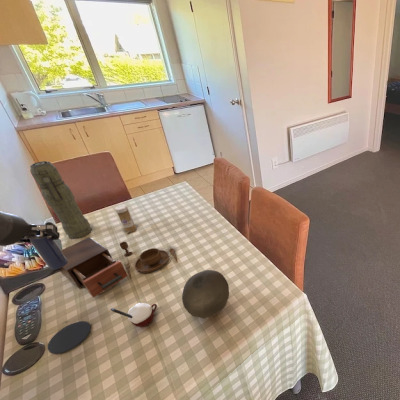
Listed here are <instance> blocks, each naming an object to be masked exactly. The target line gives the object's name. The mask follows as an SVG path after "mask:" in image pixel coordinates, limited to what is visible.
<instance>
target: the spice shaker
mask: <svg viewBox="0 0 400 400" xmlns="http://www.w3.org/2000/svg"><path fill="white" fill-rule="evenodd" d="M38 225H39V226H44V224H38ZM43 234H44V235H45V233H44V231H43ZM29 241H30V242H31V243H30V244H31V245H32V246H33V248H34V249H35V250H36V252H37V254H38V255H39V256H40V257H41V259H42V260H43V261H44V263H45V264H46V266H47V267H48V268H49V269H50V270H54V271H55V270H59V268H61V267H63V266H65V265H66V264H67V263H68V260H67V258H66V257H65V255H64V254H63V252H62V251H61V250H62V249H61V247H60V246H59V245H58V243H57V242H56V240H53V239H48V238H41V239H29Z"/></svg>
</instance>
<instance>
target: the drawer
mask: <svg viewBox="0 0 400 400" xmlns="http://www.w3.org/2000/svg"><path fill="white" fill-rule="evenodd" d="M111 257H112V256H111ZM111 257H109V256H108V255H106V254H105V253H103V254H101V255H99V256H97V257H95V258H94V259H92V260H90V261H88V262H86V263H84V264H82V265H80V266H78V267H76V268H75V269H73V270H71V271H72V272H73V274H74V275H75V277H76V278H77V280H78V281H79V282H80V283H81V284H83V285H84V286H83V287H84V288H86V290H87V291H88V293H89V294H90V295H91V297H92V298H96V297H97V296H98V295H100V294H102V293H103V292H105V291H106V290H108V289H110V288H112V287H114V286H115V285H116V284H118V283H120V282H121V281H123V280H124V279H126V278H128V277H129V274H128V272H127V271H126V268H125V266H124V265H123V263H122V261H120V260H118V261H116V260H115V259H114V258H113V257H112V258H111Z"/></svg>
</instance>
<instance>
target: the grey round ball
mask: <svg viewBox="0 0 400 400" xmlns="http://www.w3.org/2000/svg"><path fill="white" fill-rule="evenodd" d="M181 295H182V296H181V302H182V305H183V308H184V309H185V310H186V311H187V313H188V314H189V315H190V316H192V317H195V318H199V319H209V318H212V317H214V316H215V315H217V314H219V313H221V311H222V310H223V309H224V308H225V307H226V306H227V303H228V300H229V298H230V286H229V283H228V280H227V279H226V277H225V276H224V275H223V273H221V272H220V271H217V270H214V269H205V270H202V271H199V272H196V273H195V274H193V275H192V276H190V278H188V279H187V281H186V282H185V284H184V286H183V289H182V294H181Z"/></svg>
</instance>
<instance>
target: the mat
mask: <svg viewBox="0 0 400 400" xmlns="http://www.w3.org/2000/svg"><path fill="white" fill-rule="evenodd" d="M91 332H92V325H91V324H90V323H89V322H88V321H86V320H85V321H84V320H81V321H79V320H78V321H75V322H73V323H70V324H68V325H66V326H64V327H63V328H61V329H59V330H58V331H57V332H56V333H55V334H54V335H53V336H52V337H51V338H50V339H49V342H48V343H47V350H48V352H49V353H51V354H53V355H61V354H64V353H68V352H70V351H71V350H73V349H75V348H77V347H79V346H80V345H81V344H82V343H83V342H84V341H86V340H87V338H88V337H89V335H90V334H91Z"/></svg>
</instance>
